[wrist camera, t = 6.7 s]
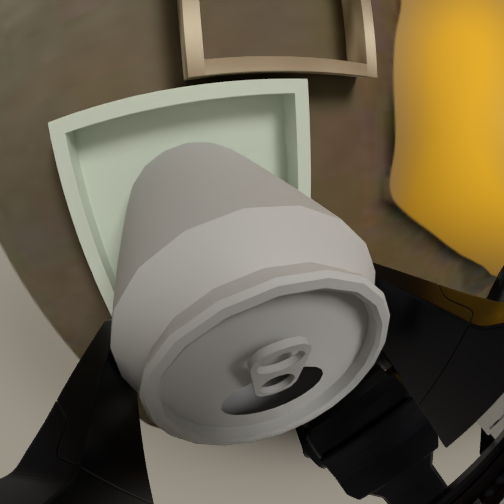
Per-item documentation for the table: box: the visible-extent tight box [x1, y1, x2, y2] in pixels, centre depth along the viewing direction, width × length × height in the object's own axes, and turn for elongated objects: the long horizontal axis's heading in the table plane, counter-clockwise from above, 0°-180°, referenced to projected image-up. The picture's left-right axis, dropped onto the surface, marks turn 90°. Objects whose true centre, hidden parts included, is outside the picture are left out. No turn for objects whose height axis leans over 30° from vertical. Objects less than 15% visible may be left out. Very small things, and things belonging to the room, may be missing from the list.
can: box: [110, 142, 390, 445], centre depth 11 cm, size 8×8×12 cm
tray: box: [48, 79, 311, 316], centre depth 16 cm, size 13×13×2 cm
